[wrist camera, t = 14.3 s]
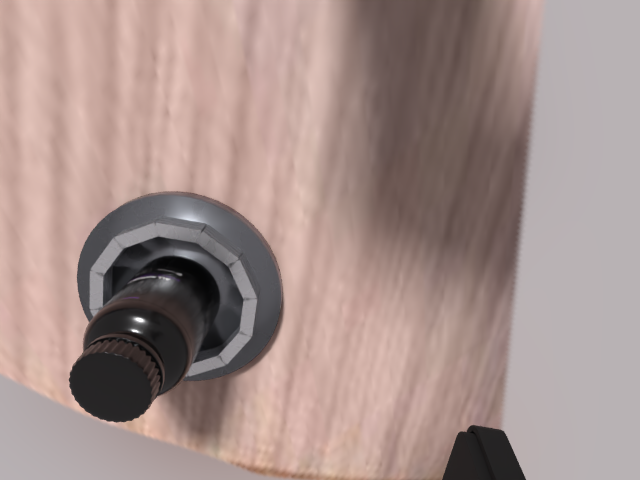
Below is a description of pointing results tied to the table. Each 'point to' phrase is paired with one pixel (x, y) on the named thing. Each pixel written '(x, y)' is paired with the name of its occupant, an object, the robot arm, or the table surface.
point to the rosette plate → (205, 248)
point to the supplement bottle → (145, 338)
